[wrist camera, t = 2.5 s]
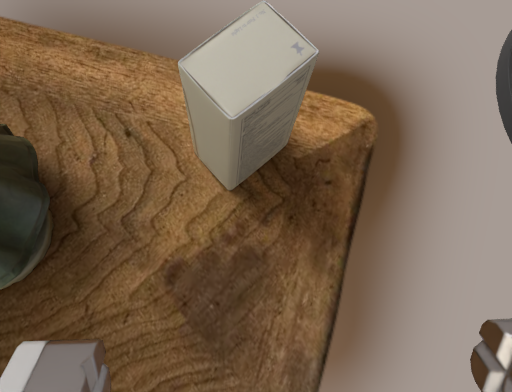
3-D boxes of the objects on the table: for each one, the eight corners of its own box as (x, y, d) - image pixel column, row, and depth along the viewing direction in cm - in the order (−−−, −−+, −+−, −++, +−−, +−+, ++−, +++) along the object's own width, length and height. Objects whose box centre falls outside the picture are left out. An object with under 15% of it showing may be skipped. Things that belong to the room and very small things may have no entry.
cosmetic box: (251, 107, 34) (266, -7, 22) (289, 146, 33) (324, 49, 22) (190, 154, 32) (172, 58, 21) (229, 196, 32) (232, 120, 20)
